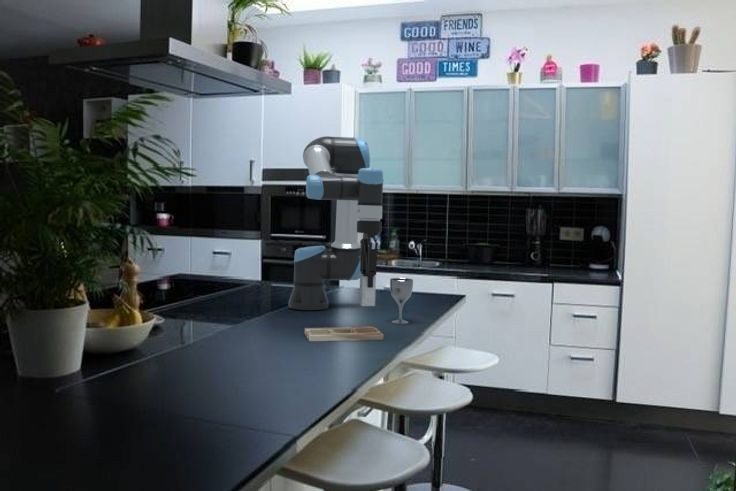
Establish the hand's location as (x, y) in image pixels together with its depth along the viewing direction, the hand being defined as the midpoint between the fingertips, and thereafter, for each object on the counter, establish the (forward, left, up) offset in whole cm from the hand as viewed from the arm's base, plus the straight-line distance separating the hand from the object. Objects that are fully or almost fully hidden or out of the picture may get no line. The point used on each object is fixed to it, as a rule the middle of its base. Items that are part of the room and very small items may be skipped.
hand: (367, 296), depth 189 cm
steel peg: (0, 0, -2) cm, 2 cm away
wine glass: (-22, +17, -12) cm, 30 cm away
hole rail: (0, -7, -12) cm, 14 cm away
